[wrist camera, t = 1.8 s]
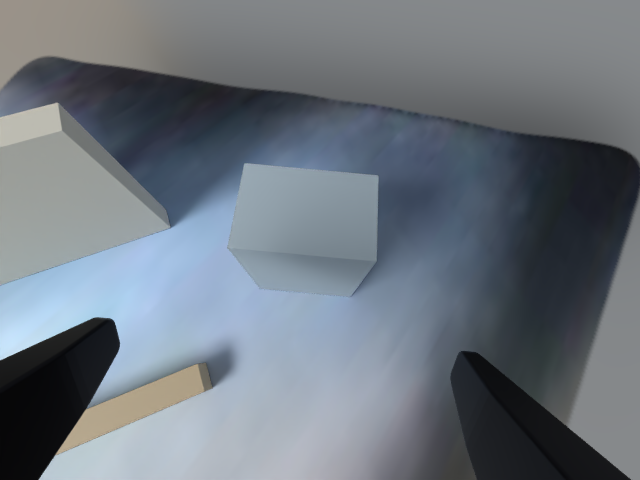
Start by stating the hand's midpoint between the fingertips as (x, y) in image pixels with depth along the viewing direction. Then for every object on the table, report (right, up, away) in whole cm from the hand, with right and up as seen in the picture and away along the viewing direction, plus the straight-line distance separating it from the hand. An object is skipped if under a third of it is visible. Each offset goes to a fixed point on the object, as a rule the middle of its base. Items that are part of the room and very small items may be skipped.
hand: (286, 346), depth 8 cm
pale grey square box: (0, +1, +13) cm, 13 cm away
